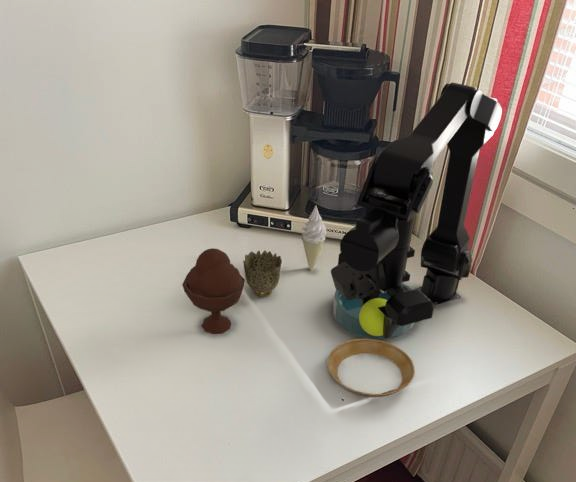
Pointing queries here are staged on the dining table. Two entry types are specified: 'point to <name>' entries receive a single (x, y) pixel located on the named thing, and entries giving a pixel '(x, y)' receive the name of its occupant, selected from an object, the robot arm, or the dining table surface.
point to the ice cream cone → (313, 237)
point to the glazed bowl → (349, 315)
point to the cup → (262, 272)
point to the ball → (372, 316)
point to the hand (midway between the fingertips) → (376, 327)
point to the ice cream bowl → (214, 288)
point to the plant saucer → (378, 349)
